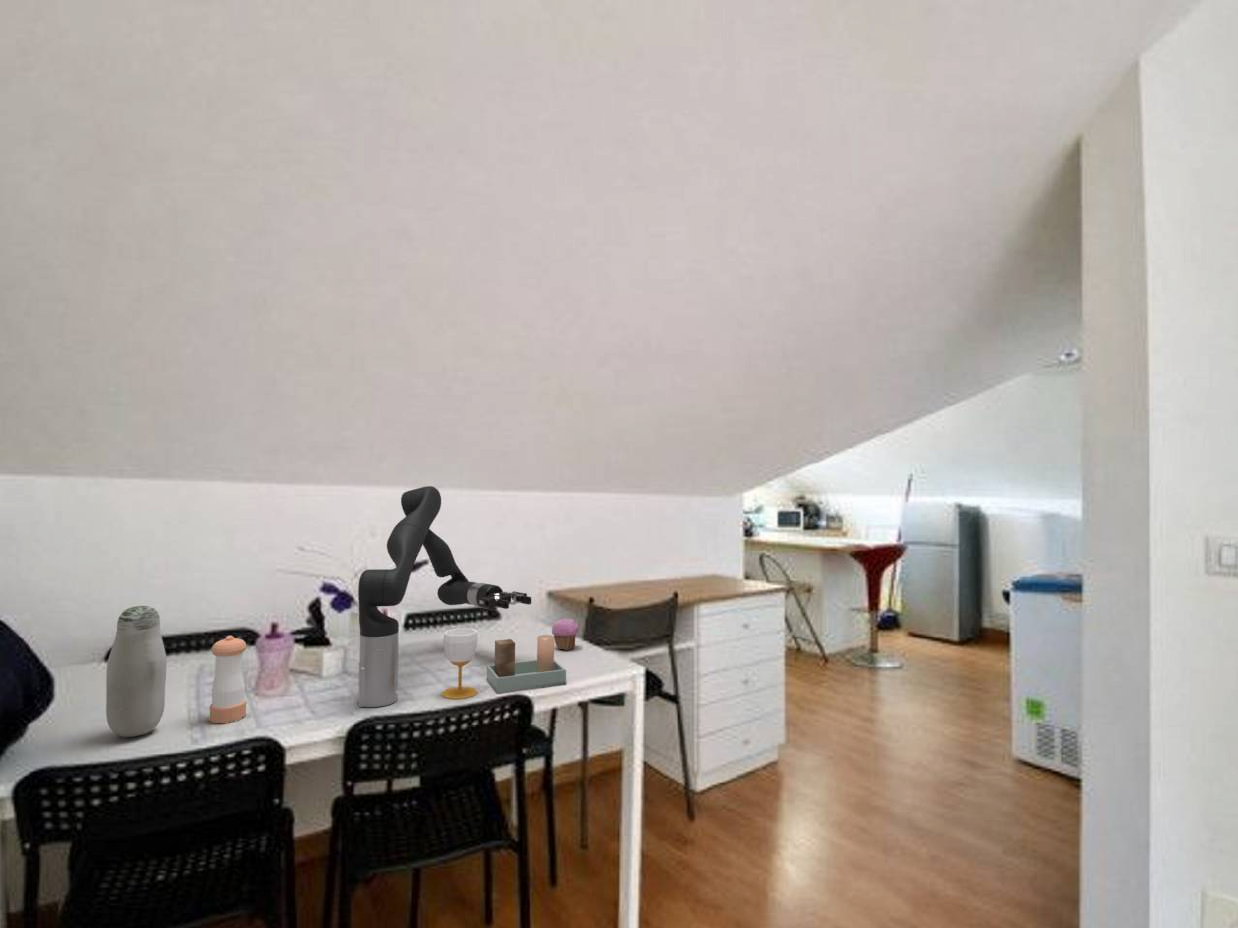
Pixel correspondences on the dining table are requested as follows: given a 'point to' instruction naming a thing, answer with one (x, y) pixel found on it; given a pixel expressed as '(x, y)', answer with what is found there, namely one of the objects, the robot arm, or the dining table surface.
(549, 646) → the terracotta cylinder
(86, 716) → the dining table surface
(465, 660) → the cup
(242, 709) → the salt shaker
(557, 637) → the cupcake
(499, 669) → the walnut block
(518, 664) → the tray
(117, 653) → the grey bottle
